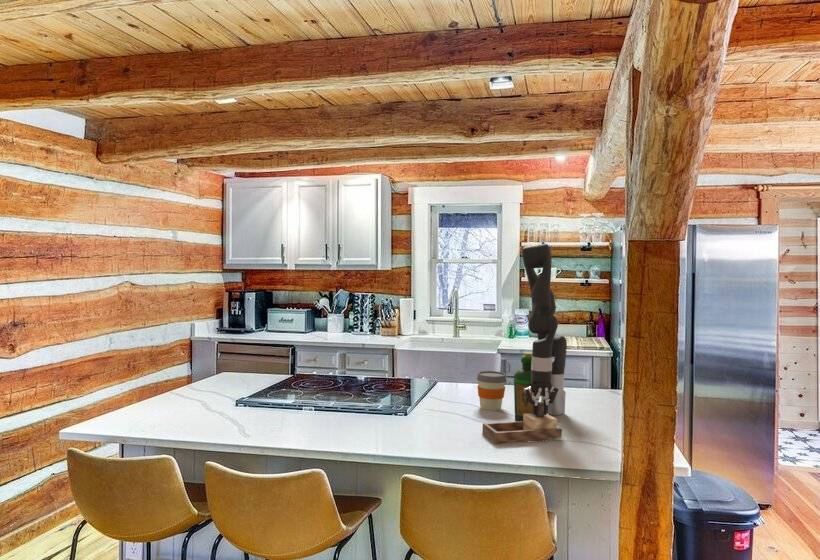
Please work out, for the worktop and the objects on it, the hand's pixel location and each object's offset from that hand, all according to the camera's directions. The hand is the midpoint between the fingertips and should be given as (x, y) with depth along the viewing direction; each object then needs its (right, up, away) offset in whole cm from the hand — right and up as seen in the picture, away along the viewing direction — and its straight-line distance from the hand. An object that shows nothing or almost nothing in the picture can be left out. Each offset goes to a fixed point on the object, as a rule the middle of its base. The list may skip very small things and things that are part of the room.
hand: (539, 414), depth 221 cm
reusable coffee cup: (-13, -6, +39) cm, 42 cm away
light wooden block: (0, -7, 0) cm, 7 cm away
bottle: (-2, -7, +17) cm, 19 cm away
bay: (-7, -8, -2) cm, 11 cm away
